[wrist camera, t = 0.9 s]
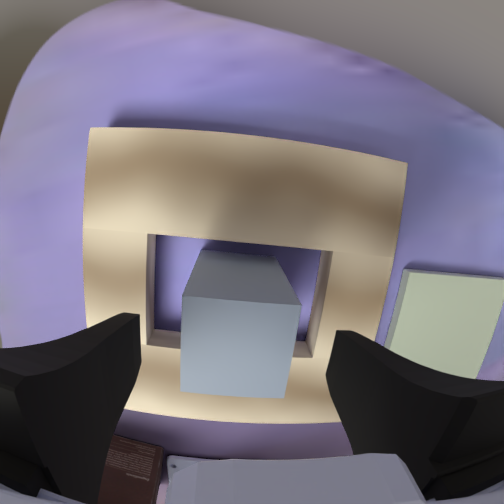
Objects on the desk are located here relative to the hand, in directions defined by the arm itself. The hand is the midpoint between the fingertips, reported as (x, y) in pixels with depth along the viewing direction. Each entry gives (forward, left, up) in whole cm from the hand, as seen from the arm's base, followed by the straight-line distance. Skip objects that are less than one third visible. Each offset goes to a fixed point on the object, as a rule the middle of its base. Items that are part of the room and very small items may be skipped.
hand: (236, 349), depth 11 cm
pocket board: (0, 0, -7) cm, 7 cm away
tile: (-3, -15, -7) cm, 17 cm away
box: (-16, +8, -7) cm, 19 cm away
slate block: (0, 0, -7) cm, 7 cm away
